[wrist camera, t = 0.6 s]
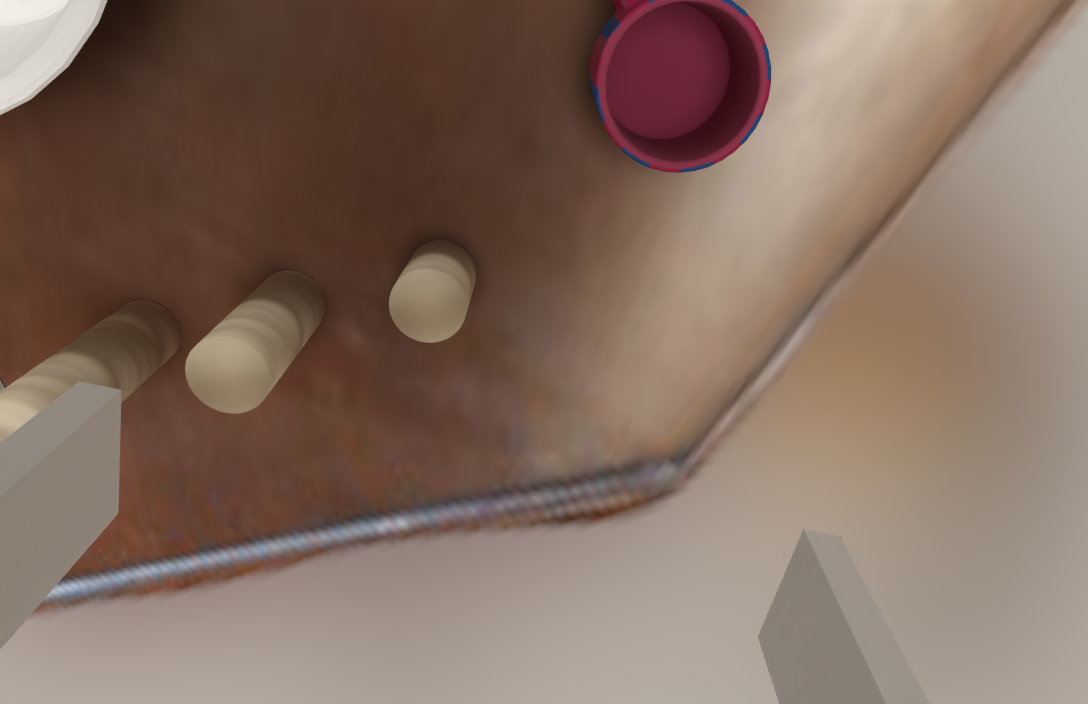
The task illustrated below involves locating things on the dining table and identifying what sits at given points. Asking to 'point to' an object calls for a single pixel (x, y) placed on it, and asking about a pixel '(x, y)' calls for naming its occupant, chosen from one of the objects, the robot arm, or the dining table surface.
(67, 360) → the pin long
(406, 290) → the pin short
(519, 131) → the dining table surface
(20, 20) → the bowl
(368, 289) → the dining table surface
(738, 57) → the cup
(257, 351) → the pin medium
